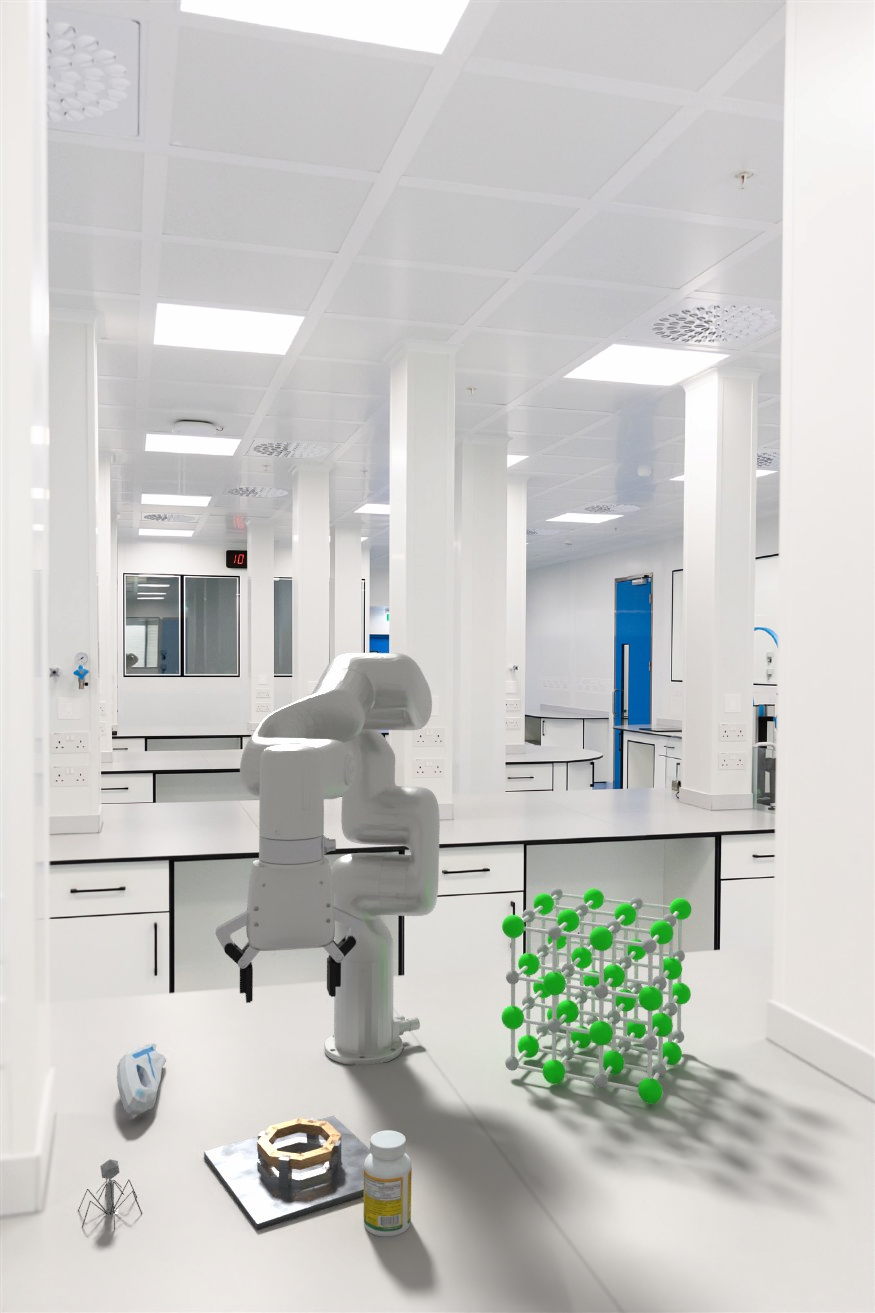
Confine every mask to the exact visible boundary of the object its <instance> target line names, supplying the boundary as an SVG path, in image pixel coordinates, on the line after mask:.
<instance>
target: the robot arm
mask: <svg viewBox="0 0 875 1313" xmlns="http://www.w3.org/2000/svg"><path fill="white" fill-rule="evenodd" d="M432 709H433V700H432V692H431V688H430V686H429V683H428V682H427V679H426V677H425V675H424V673H423V671H422V669H421V667H420V666H419V665H418V662H416V660H414V658H411V656H408V655H407V654H404V653H397V652H395V653H394V652H389V653H388V652H387V653H386V652H383V653H382V652H348V653H344V654H340V655H338V656H336V657H335V658H333V659H332V660H331V661H330V662H329V663H328V664H327V666H325V669H324V671H323V672H322V675H321V676H320V679H319V680H318V682H317V684H316V686H315V687H314V689H313V691H312V693H311V694H310V695H308V696H306V697H303V698H301V699H298V700H296V701H295V702H292V703H290V704H288V705H285V706H283V707H281V708H279V709H277V710H275V711H272V713H269V714H268V715H266V716H265V717H264V718H262V720H260V722H259V723H258V724H257V725H256V727H255V729H254V730H253V732H252V734H251V735H250V736H249V739H248V740H247V742H246V745H245V747H244V748H243V752H242V754H241V759H240V765H239V774H240V775H239V776H240V780H241V783H242V785H243V787H244V788H245V790H246V791H247V792H248V793H250V794H251V795H252V796H255V797H259V808H258V809H259V815H258V820H259V822H258V826H259V827H258V828H259V829H258V830H259V831H258V833H259V834H258V835H259V836H258V839H259V840H258V859H256V860H254V861H252V865H251V869H250V874H249V881H248V887H247V888H248V889H247V901H246V902H247V904H246V906H247V907H246V910H245V911H243V912H241V913H240V914H238V915H236V916H235V917H232V918H231V919H229V920H228V921H226V922H224V923H222V924H221V925H219V926H217V927H216V928H215V935H216V939H218V941H219V942H218V943H219V944H220V945H221V947H222V948H223V951H224V953H225V954H226V955H227V956H228V957H229V958H230V959H231V960H232V961H233V962H234V963H236V964H237V965H238V968H239V994H240V995H241V994H245V1003H246V1004H248V1003H252V1002H253V1000H254V999H253V996H254V995H253V990H254V988H253V986H254V985H253V984H254V983H253V982H254V981H253V978H254V977H253V974H254V973H253V971H254V970H253V962H252V961H253V960H254V959H255V958H256V956H257V955H258V954H259V952H272V951H274V952H275V951H289V950H290V951H294V950H306V949H309V950H310V949H317V948H318V949H319V948H323V949H324V950H325V952H326V953H328V957H326V989H327V993H328V996H329V997H331V998H333V1034H332V1035H330V1036H329V1037H327V1039H325V1041H324V1044H323V1047H324V1049H323V1050H324V1054H325V1056H327V1057H328V1058H329V1059H330V1060H332V1061H334V1062H337V1063H340V1064H343V1065H350V1066H354V1065H355V1066H356V1065H371V1064H372V1065H373V1064H379V1063H387V1062H390V1061H393V1060H394V1059H396V1058H398V1057H399V1055H401V1053H402V1052H403V1047H404V1046H403V1045H404V1042H403V1039H402V1038H401V1036H404V1033H406V1032H412V1031H417V1030H419V1029H420V1027H421V1023H420V1019H419V1018H418V1017H417V1016H416V1017H412V1018H407V1019H405V1016H404V1015H399V1016H396V1017H395V1016H394V965H395V964H394V957H395V956H394V953H395V952H394V948H395V947H394V946H395V945H394V939H393V936H392V933H391V931H390V929H389V927H388V926H387V924H386V923H385V922H384V919H382V917H381V916H401V917H402V916H403V917H422V916H423V917H424V916H427V915H429V914H431V913H432V912H433V911H434V909H435V907H436V905H437V901H438V900H437V899H438V894H439V873H440V870H439V869H440V867H439V866H440V865H439V864H440V831H441V830H440V826H441V824H440V822H441V821H440V808H439V804H438V800H437V797H436V794H435V793H434V792H433V791H432V790H430V789H428V788H425V787H421V786H408V785H407V786H406V785H405V786H403V785H402V786H401V785H397V784H396V778H395V777H396V755H395V752H394V750H393V748H392V746H391V745H390V743H389V742H388V740H387V738H385V736H384V735H383V734H382V732H380V731H417V730H421V729H422V728H424V727H425V726H426V725H428V722H429V721H430V718H431V715H432V711H433V710H432ZM338 798H341V811H340V812H341V814H340V816H341V819H340V821H341V830H342V835H343V837H345V839H346V840H348V842H351V843H355V844H361V845H373V846H374V845H375V846H376V845H377V846H398V847H399V846H404V847H406V848H408V850H409V852H410V854H397V853H395V854H394V853H390V854H389V853H380V852H379V853H373V852H372V853H371V852H357V853H349V854H345V855H342V856H340V857H338V858H337V859H336V860H335V861H334V862H333V863H332V865H330V860H329V858H327V857H326V858H325V855H327V853H329V852H331V851H337V850H336V849H337V841H336V839H334V838H332V839H331V838H329V837H326V835H324V834H325V829H324V828H325V826H324V824H325V820H324V817H325V810H324V809H325V805H324V804H325V800H335V799H338ZM245 927H246V937H247V940H248V941H247V942H246V943H245V945H244V946H243V947H242V948H241V947H239V946H238V945H237V943H235V942H234V941H233V939H232V937H231V935H232V934H233V933H235V932H237V931H239V930H240V929H242V928H245Z"/></svg>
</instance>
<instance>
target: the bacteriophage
mask: <svg viewBox="0 0 875 1313" xmlns="http://www.w3.org/2000/svg"><path fill="white" fill-rule="evenodd" d="M100 1173H101V1178H102V1179H105V1181H104V1182H103V1184H102V1185H101V1187H100V1188H99V1189H98V1190H97V1191H96V1193H95V1194H98V1192H99V1191H100V1190H101V1188H102V1187H103V1186H104V1187H103V1189H102V1191H101V1193H100V1195H99V1197H98V1199H97V1197H96V1196H94V1194H93V1193H92V1192H91V1190H90V1189H88V1188H87V1189H86V1191H85V1194H84V1195H83V1197H82V1200H81V1202H80V1205H79V1207H78V1209H77V1212H80V1209H81V1207H82V1204H83V1202H84V1201H85V1200H84V1199H85V1197H86V1195H87V1192H88V1193H89V1194H90V1195H91V1196H92V1197H93V1199H95V1200H96V1202H97V1204H99V1206H100V1207H99V1206H98V1205H97V1204H96V1203H95V1202H93V1201H92V1200H89V1202H88V1206H87V1210H86V1212H85V1215H84V1219H83V1223H82V1225H81V1229H83V1228H84V1225H85V1222H86V1217H87V1216H88V1211H89V1208H90V1205H91V1203H92V1205H94V1206H95V1207H97V1208H98V1209H99V1210H100V1211H101V1212H102V1214H103V1216H105V1217H112V1216H113V1230H114V1231H116V1221H115V1220H116V1218H115V1215H116V1214H119V1208H120V1207H121V1205H122V1204H123V1203H124V1202H125V1201H126V1200H127V1199H128V1198H129V1197H130V1195H131V1194H132V1195H133V1198H134V1199H135V1202H136V1204H137V1207H138V1209H139V1212H140V1214H141V1215H143V1212H142V1208H141V1207H140V1204H139V1202H138V1199H137V1198H138V1196H137V1193H136V1191H135V1189H134V1187H133V1185H132V1183H131V1180H130V1179H128V1180H127V1182H126V1184H125V1185H124V1188H123V1187H122V1186H121V1184H119V1183H118V1182H117V1181H116V1180H115V1179H113V1178H115V1177H116V1176H117V1175H119V1174H120V1165H119V1161H118V1160H116V1159H108V1160H107V1161H105V1162H103V1163H102V1164H101V1165H100ZM128 1183H129V1184H130V1187H131V1189H132V1190H131V1192H130V1193H129V1194H128V1195H127V1196H126V1197H125V1198H124V1199H123V1200H122V1202H121V1203H120V1204H119V1205H118V1206H117V1204H118V1203H119V1201H120V1199H121V1197H122V1195H123V1196H124V1195H125V1194H124V1191H125V1189H126V1187H127V1185H128ZM115 1186H116V1187H117V1188H118V1190H119V1192H120V1195H119V1197H118V1199H117V1201H116V1202H115ZM122 1188H123V1190H121V1189H122ZM104 1191H105V1192H104ZM103 1193H104V1196H105V1207H104V1206H103V1205H102V1204H101V1202H99V1201H100V1198H101V1196H102V1195H103ZM116 1206H117V1207H116Z"/></svg>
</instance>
